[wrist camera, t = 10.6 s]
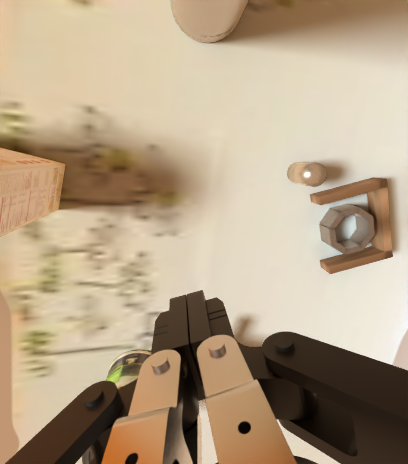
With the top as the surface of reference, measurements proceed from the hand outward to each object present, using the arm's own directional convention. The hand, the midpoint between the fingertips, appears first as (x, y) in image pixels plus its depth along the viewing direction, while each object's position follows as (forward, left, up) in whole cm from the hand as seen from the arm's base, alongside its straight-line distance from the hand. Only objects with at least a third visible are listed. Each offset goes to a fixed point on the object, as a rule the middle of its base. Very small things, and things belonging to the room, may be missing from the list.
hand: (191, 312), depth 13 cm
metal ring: (+10, +24, -31) cm, 40 cm away
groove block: (+10, +24, -31) cm, 40 cm away
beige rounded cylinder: (0, +18, -31) cm, 36 cm away
